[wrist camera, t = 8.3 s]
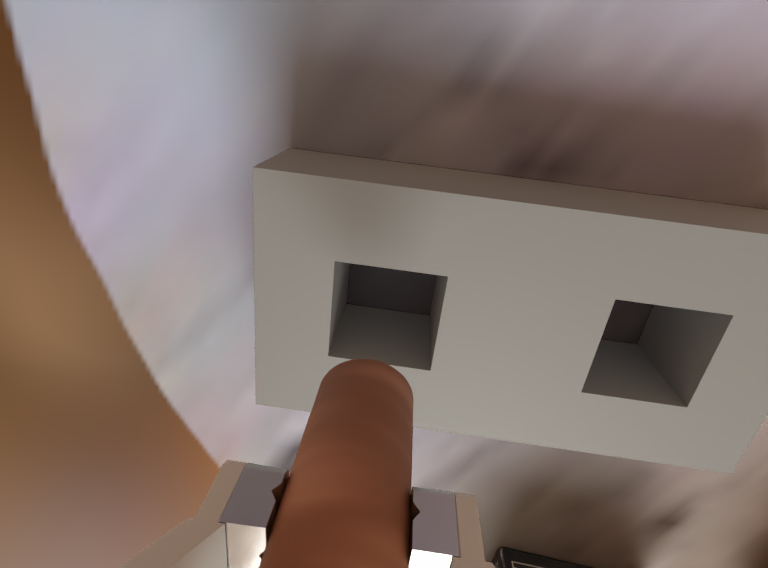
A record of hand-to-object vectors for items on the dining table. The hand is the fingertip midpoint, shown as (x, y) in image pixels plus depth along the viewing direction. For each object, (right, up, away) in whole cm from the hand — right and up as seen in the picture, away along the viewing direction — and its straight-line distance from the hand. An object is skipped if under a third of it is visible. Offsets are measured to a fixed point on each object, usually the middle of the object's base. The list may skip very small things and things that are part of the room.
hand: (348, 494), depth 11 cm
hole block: (+7, +5, +12) cm, 15 cm away
